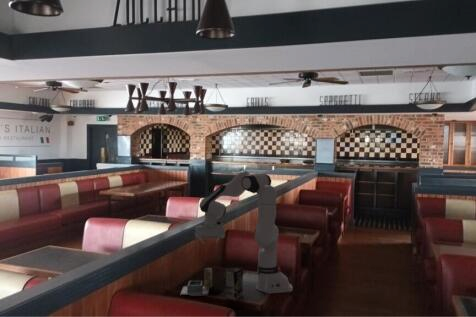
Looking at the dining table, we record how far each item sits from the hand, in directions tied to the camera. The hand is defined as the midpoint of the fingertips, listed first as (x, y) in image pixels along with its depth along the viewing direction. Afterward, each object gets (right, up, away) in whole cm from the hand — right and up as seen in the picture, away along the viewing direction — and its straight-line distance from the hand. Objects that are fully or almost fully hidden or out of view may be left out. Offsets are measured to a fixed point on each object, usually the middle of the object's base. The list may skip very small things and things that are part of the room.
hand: (209, 242), depth 260 cm
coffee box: (+17, -25, -30) cm, 43 cm away
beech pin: (0, -25, -12) cm, 27 cm away
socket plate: (-7, -25, -22) cm, 34 cm away
